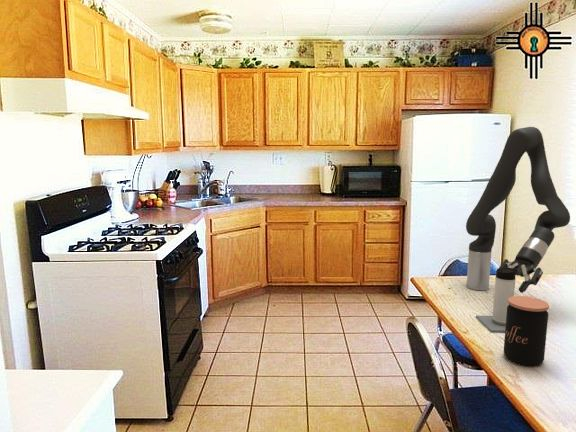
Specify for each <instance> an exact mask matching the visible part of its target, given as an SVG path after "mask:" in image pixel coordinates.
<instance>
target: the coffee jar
mask: <svg viewBox="0 0 576 432" xmlns="http://www.w3.org/2000/svg"><path fill="white" fill-rule="evenodd" d="M508 303H509V305H508V306H507V314H506V327H505V333H504V338H503V339H504V340H503V341H504V342H503V355H504V356H505V358H506V359H507V360H508V361H509V362H511V363H513V364H515V365H518V366H522V367H527V368H534V367H535V368H536V367H539V366H540V365H541V364H542V363H544V361H545V353H546V345H547V344H546V343H547V334H548V323H549V312H548V310H549V309H550V304H549V303H548V302H547V301H546V300H543V299H541V298H537V297H533V296H527V295H514V296H512V297H509V298H508Z"/></svg>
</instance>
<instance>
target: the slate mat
mask: <svg viewBox="0 0 576 432" xmlns="http://www.w3.org/2000/svg"><path fill="white" fill-rule="evenodd" d="M492 317H493V315H475V319H476V320H477V321H479V323H480V324H481V325H482V326H484V328H486V329H487V331H489V332H490V333H491V334H492V333H502V334H503V333H504V334H505V327H506V326H502V325H498V324H495V323H494V322H493V321H492Z"/></svg>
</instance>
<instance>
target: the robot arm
mask: <svg viewBox="0 0 576 432" xmlns="http://www.w3.org/2000/svg"><path fill="white" fill-rule="evenodd" d="M543 137H544V136H543V134H542V132H541V130H540V129H539V128H537V127H536V126H526V127H521V128H516V129H514V130H513V131H511V132H510V133H509V135H508V136H507V139H506V142H505V145H504V147H503V150H502V152H501V155H500V159H499V160H498V161H497V164H496V166H495V169H494V170H493V172H492V175H491V176H490V178H489V180H488V181H487V184H486V187H485V189H484V190H483V192H482V194H481V196H480V198H479V200H478V201H477V204H476V205H475V206H474V208H473V210H472V211H471V213H470V214H469V216H468V218H467V219H466V223H465V228H466V229H465V230H466V233H467V234H468V235H470V236H475V237H477V238H476V239H475V240H473V241H471V242H470V243H469V245H468V258H467V273H466V275H467V276H466V287H467V288H468V289H470V290H474V291H487V290H489V287H490V278H491V277H490V276H491V265H492V264H491V263H492V251H493V249H492V248H493V247H494V243H495V238H496V237H495V236H496V229H497V224H496V223H497V221H496V219H495V218H494V216H493V215H492V214H491V212H492V211H493V210H494V209H496V208H497V207H498V206H499V205H501V204H502V203H503V202H504V201H505V200H506V199H508V197H509V195H511V192H512V190H513V188H514V186H515V183H516V179H517V178H516V177H517V173H516V172H517V171H516V170H517V166H518V165H519V162H520V160H521V159H522V157H523V156H524V154H525V153H526V154H527V156H528V159H529V162H530V185H531V186H530V187H531V189H532V193H533V195H534V198H535V201H536V202H537V204H538V205H540V206H545V207H546V209H547V210H545V211H542V212H541V213H540V214H539V215H538V217H537V220H536V223H535V226H534V229H533V231H532V233H531V234H530V236H528V238H527V240H526V241H525V242H524V244H523V245H522V247H521V248H520V249H519V251H518V252H517V254H516V255H515V258H514V260H513V261H509V259H508V258H506V259H504V260H503V261H502V263H501V264H500V266H499V267H498V268H497V269H499V268H516V269H517V271H516V277H517V276H520V277H521V278H524V281H522V282H521V284H520V286H519V287H518V291H519V292H520V293H521V294H523V293H525V292H526V291H527V289H528V288H529V286H531V285H534V286H537V284H538V283H539V281H540V279H541V278H542V276H543V274H544V271H543V269H542V268H541V267H540V266H539V265H540V263H541V262H542V259H543V258H544V257H545V255H546V253H547V252H548V251H547V250H548V249H549V247H550V246H551V245H552V243H553V241H554V239H555V233H554V232H553V230H554V229H557V228H563V227H565V226H567V225H569V223H570V222H571V215H570V211H569V210H568V208H567V206H566V205H565V204H564V202H563V200H561V198H560V197H559V196H558V193H557V190H556V187H555V184H554V182H553V180H552V176H551V173H550V170H549V165H548V159H547V155H546V154H547V153H546V148H545V142H544V138H543ZM532 273H533V275H532V276H531V274H532Z"/></svg>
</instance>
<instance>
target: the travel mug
mask: <svg viewBox="0 0 576 432" xmlns="http://www.w3.org/2000/svg"><path fill="white" fill-rule="evenodd" d="M498 268H499V267H498ZM498 268H496V271H495V279H494V293H493V294H494V295H493V306H492V307H493V308H492V316H493V317H492V321H493V322H494V323H495V324H498V325H502V326H506V314H507V306H508V305H509V303H508V298H509V297H512V296H515V289H516V277H517V275H516V271H517V269H516V268H499V269H498Z"/></svg>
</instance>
